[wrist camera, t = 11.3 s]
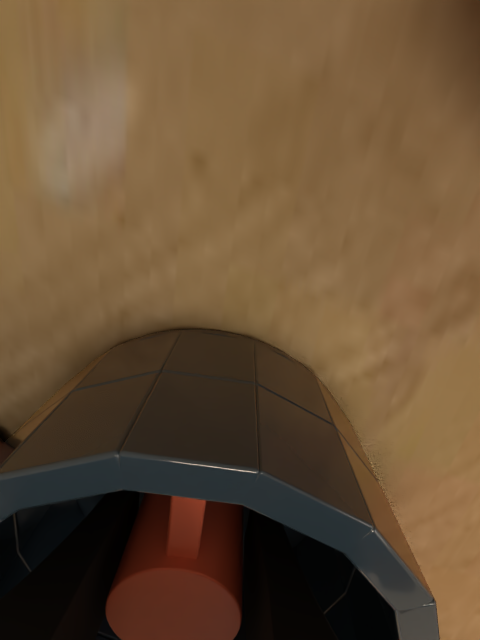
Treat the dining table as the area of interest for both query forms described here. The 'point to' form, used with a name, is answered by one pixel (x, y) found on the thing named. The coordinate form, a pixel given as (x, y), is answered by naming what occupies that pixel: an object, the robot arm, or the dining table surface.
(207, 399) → the pot
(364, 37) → the dining table surface
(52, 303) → the dining table surface
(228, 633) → the orange cylinder with nub
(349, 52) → the dining table surface
